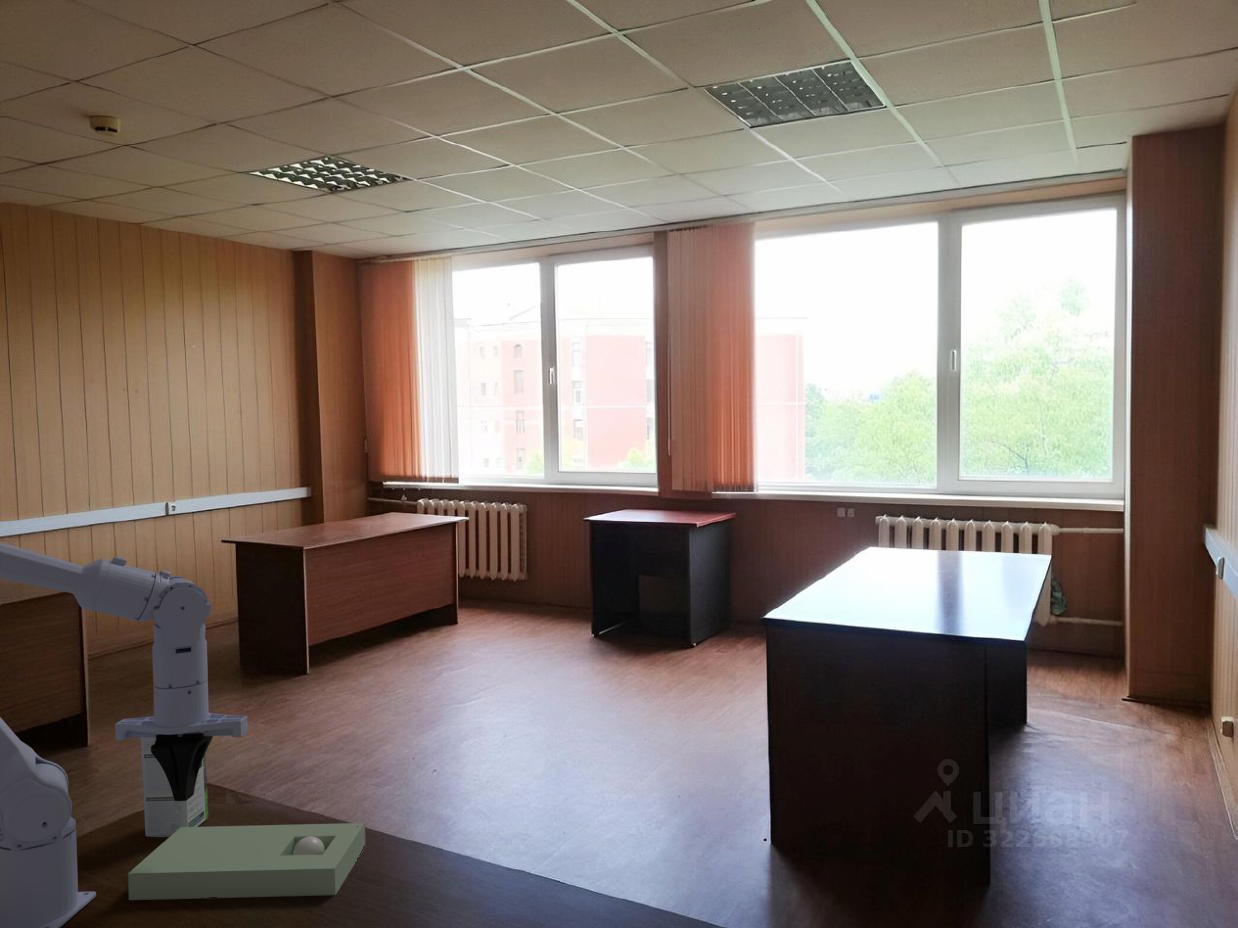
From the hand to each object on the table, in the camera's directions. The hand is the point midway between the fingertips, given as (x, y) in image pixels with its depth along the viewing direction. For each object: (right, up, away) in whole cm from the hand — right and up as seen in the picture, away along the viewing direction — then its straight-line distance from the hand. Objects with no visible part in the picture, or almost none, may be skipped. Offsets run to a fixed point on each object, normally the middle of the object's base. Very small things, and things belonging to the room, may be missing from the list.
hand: (184, 797), depth 103 cm
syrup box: (-8, -10, +14) cm, 19 cm away
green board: (+8, -9, +1) cm, 12 cm away
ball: (+14, -7, +1) cm, 16 cm away
